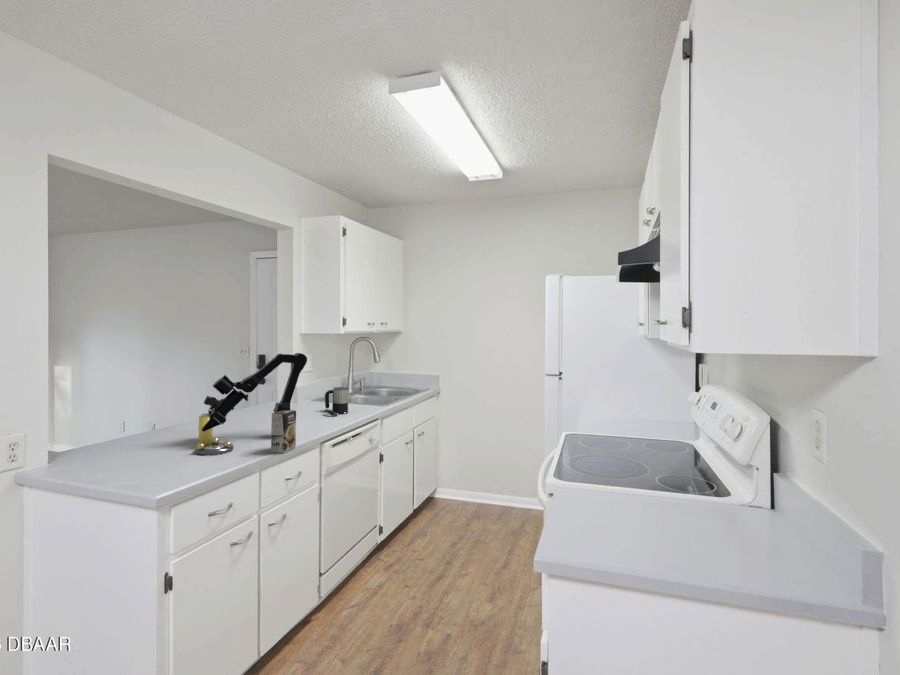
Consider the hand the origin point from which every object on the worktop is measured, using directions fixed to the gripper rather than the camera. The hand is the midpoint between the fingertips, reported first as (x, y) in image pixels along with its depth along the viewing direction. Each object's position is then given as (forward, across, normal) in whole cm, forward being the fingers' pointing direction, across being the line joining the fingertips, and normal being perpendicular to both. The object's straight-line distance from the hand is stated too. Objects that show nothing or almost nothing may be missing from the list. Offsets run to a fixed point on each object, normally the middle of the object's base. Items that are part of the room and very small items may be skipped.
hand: (202, 428), depth 204 cm
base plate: (+2, +14, +8) cm, 16 cm away
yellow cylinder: (+4, 0, +6) cm, 7 cm away
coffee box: (-16, +24, +26) cm, 39 cm away
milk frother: (-46, -44, +55) cm, 84 cm away
